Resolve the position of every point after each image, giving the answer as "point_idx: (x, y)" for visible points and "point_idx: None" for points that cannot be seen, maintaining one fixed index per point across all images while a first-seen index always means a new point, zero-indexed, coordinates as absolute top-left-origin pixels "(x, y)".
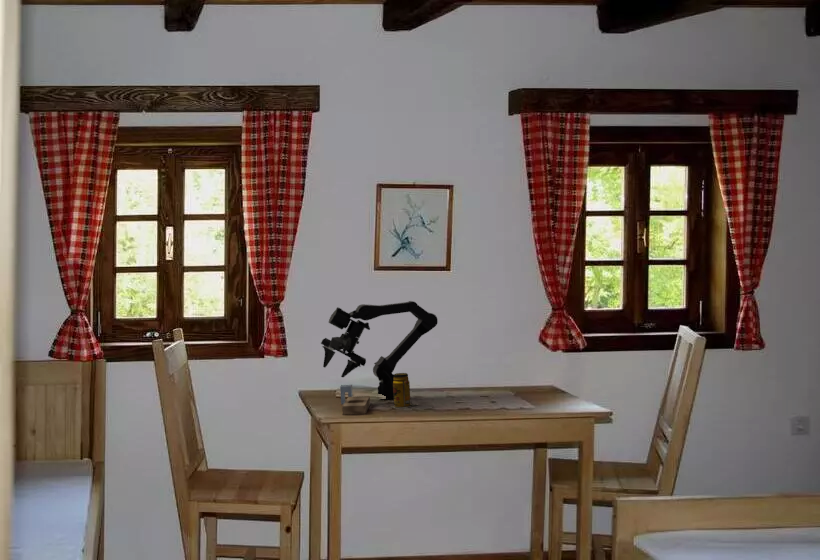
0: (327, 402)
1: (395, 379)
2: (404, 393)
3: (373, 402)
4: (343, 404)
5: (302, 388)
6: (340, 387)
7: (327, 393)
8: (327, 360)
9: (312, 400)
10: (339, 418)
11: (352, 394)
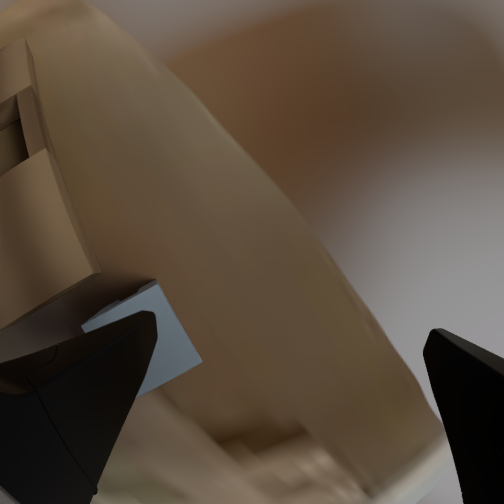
0: (267, 306)
1: None
2: None
3: None
4: (27, 62)
5: None
6: (156, 284)
7: (374, 457)
8: (469, 390)
9: (361, 324)
10: (31, 17)
11: None
